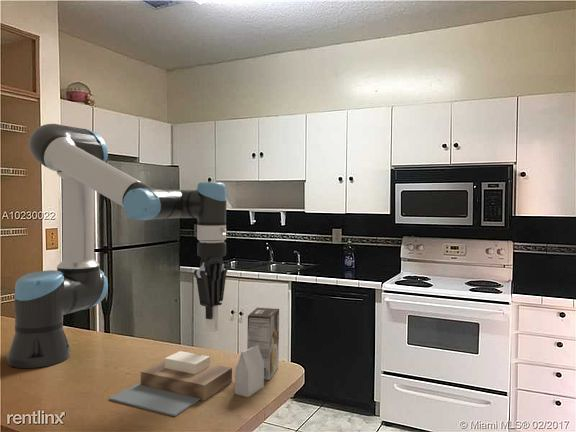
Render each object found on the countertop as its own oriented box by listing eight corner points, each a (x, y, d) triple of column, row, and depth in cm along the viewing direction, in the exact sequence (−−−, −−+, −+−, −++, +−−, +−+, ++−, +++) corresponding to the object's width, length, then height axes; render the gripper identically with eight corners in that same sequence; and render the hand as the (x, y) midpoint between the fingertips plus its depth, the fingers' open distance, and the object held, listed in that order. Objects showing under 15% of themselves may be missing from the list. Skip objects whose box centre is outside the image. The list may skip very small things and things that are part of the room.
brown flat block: (140, 386, 112) (140, 371, 112) (172, 369, 123) (172, 356, 123) (204, 400, 105) (204, 385, 105) (231, 381, 116) (232, 367, 116)
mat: (109, 399, 104) (109, 397, 104) (136, 385, 112) (136, 383, 112) (175, 416, 97) (175, 414, 97) (199, 400, 105) (199, 398, 105)
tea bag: (263, 387, 113) (264, 346, 113) (247, 397, 108) (248, 354, 107) (250, 383, 115) (251, 343, 115) (234, 393, 109) (235, 351, 109)
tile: (164, 367, 115) (164, 358, 115) (179, 360, 120) (180, 351, 120) (195, 374, 111) (195, 364, 111) (209, 366, 117) (209, 356, 117)
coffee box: (255, 365, 128) (256, 306, 127) (278, 367, 126) (280, 308, 126) (246, 378, 119) (247, 314, 118) (270, 380, 117) (272, 316, 117)
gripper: (210, 243, 116) (210, 338, 117) (236, 239, 128) (236, 325, 129) (185, 242, 119) (185, 334, 120) (213, 238, 131) (213, 322, 132)
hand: (211, 330), depth 124 cm, fingers closed
